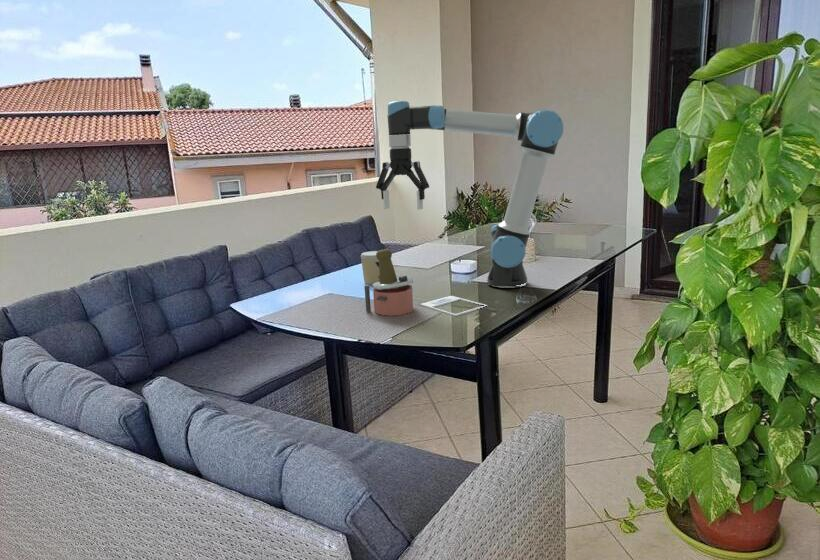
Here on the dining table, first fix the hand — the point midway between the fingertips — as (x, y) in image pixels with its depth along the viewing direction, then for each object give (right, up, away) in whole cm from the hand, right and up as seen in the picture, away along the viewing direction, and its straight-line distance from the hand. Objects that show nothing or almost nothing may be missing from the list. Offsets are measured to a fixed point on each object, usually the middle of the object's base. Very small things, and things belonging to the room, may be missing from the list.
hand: (403, 208), depth 204 cm
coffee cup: (-12, -27, +28) cm, 41 cm away
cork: (-5, -26, -12) cm, 29 cm away
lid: (-3, -27, -13) cm, 30 cm away
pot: (-3, -36, -11) cm, 37 cm away
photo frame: (+17, -35, -9) cm, 40 cm away
